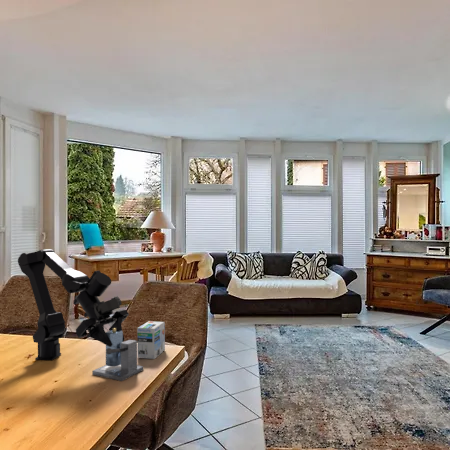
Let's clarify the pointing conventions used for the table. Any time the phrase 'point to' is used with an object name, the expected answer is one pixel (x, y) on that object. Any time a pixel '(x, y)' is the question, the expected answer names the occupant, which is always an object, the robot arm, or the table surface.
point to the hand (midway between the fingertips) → (117, 343)
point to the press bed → (127, 363)
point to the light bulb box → (151, 339)
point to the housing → (114, 347)
